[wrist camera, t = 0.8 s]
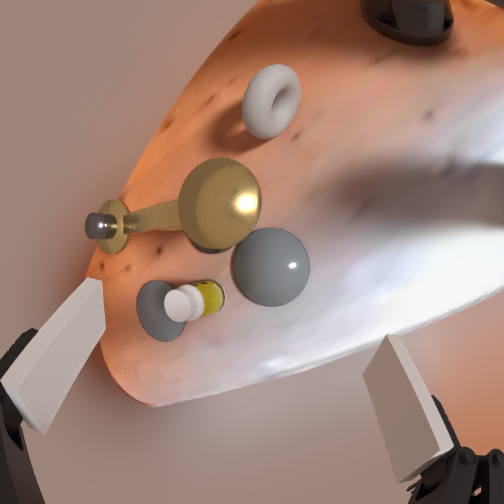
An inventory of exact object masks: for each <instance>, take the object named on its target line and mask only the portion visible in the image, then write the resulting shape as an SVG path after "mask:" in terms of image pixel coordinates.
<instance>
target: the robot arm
mask: <svg viewBox="0 0 504 504" xmlns="http://www.w3.org/2000/svg"><path fill="white" fill-rule="evenodd" d="M485 1H488V2H490V3H492V4H494V5H496V6H498V7H500V8H502V9H504V0H485ZM360 5H361V11H362V14H363V16H364V18H365V19H366V21H367V22H368V23H369V24H370V25H371V26H372V27H373V28H374V29H376V30H377V31H378V32H380V33H382V34H383V35H385V36H387V37H389V38H391V39H394V40H396V41H399V42H403V43H407V44H411V45H418V46H430V45H436V44H439V43H442V42H444V41H445V40H447V39H448V38H449V37H450V35H451V33H452V28H453V24H454V18H453V13H452V9H451V5H450V2H449V0H360ZM105 330H106V323H105V313H104V302H103V287H102V281H100V280H97V279H93V278H89V277H87V278H86V280H85V281H84V282H83V283H82V284H81V285H80V286H79V287H78V288H77V289H76V290H75V291H74V292H73V293H72V294H71V295H70V296H69V298H68V299H67V300H66V301H65V302H64V303H63V304H62V305H61V306H60V307H59V308H58V310H57V311H56V312H55V313H54V314H53V315H52V316H51V318H50V319H49V320H48V321H47V322H46V323H45V324H44V326H43V327H42V328H41V329H40V330H39V331H38V330H36V329H34V328H31V329H29V330H28V331H26V332H25V333H22V334H21V336H20V337H19V338H18V339H17V340H16V341H15V344H13V345H12V346H11V347H10V349H9V351H7V352H6V353H5V355H4V356H3V357H2V358H1V360H0V504H45V502H44V499H43V496H42V494H41V491H40V489H39V486H38V483H37V480H36V477H35V474H34V471H33V468H32V465H31V462H30V458H29V454H28V451H27V447H26V443H25V440H24V435H23V431H22V428H21V425H20V424H21V422H22V420H23V419H24V421H25V422H26V424H27V425H28V427H30V428H31V429H33V430H35V431H37V432H39V433H40V434H42V435H44V436H45V434H46V432H47V430H48V428H49V426H50V424H51V422H52V420H53V418H54V417H55V415H56V413H57V411H58V409H59V407H60V405H61V403H62V401H63V400H64V398H65V396H66V394H67V393H68V391H69V389H70V387H71V386H72V384H73V382H74V380H75V379H76V377H77V375H78V373H79V372H80V370H81V368H82V367H83V365H84V363H85V362H86V360H87V358H88V357H89V355H90V354H91V352H92V350H93V349H94V347H95V345H96V344H97V342H98V341H99V339H100V338H101V336H102V334H103V333H104V331H105ZM363 377H364V379H365V382H366V385H367V388H368V391H369V394H370V396H371V400H372V403H373V406H374V408H375V412H376V415H377V418H378V421H379V424H380V427H381V430H382V433H383V436H384V440H385V443H386V446H387V450H388V453H389V457H390V460H391V464H392V467H393V471H394V474H395V478H396V482H397V483H402V482H406V481H410V480H412V479H414V478H415V477H416V476H418V475H419V474H421V477H422V478H421V479H420V480H418V481H417V482H416V483H414V484H413V485H411V486H410V487H408V489H407V490H406V491H410V490H411V489H413V488H414V487H415V489H414V490H413V491H412V492H411V493H412V496H411V498H410V500H409V503H408V504H504V454H503V452H502V451H500V450H499V449H493V450H491V451H490V452H489V453H488V454H487V455H485V456H482V455H476V454H475V453H474V452H473V450H471V449H470V448H468V447H461V446H460V443H459V441H458V439H457V436H456V434H455V432H454V430H453V428H452V425H451V423H450V421H448V417H447V415H446V414H445V411H444V409H443V407H442V405H441V403H440V402H439V401H438V400H437V398H436V397H434V395H430V393H429V391H428V389H427V387H426V385H425V383H424V381H423V379H422V377H421V375H420V374H419V372H418V370H417V368H416V366H415V364H414V362H413V360H412V359H411V357H410V355H409V353H408V351H407V350H406V348H405V346H404V344H403V342H402V341H401V339H400V337H399V336H398V335H388V334H386V336H385V338H384V339H383V341H382V343H381V345H380V347H379V348H378V350H377V352H376V354H375V355H374V357H373V358H372V360H371V362H370V363H369V365H368V366H367V368H366V370H365V371H364V373H363ZM480 487H481V493H479V494H478V495H476V496H475V494H474V491H476V490H477V489H479V488H480Z"/></svg>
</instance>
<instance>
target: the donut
mask: <svg viewBox="0 0 504 504" xmlns="http://www.w3.org/2000/svg"><path fill="white" fill-rule="evenodd" d="M300 95H301V87H300V82H299V79H298V76H297V74H296V73H295V72H294V71H293V70H292V69H291V68H290V67H288V66H285V65H281V64H274V65H270V66H266V67H264V68H263V69H262V70H260V71H259V72H258V73H257V74H255V76H254V77H253V78H252V80H251V81H250V82H249V84H248V87H247V89H246V91H245V93H244V98H243V102H242V117H243V121H244V125H245V127H246V128H247V129H248V131H249V132H250V133H251V134H252V135H253V136H255V137H257V138H260V139H270V138H274V137H276V136H278V135H280V134H281V133H283V132H284V130H285V129H286V128H287V127H288V126H289V124H290V123H291V121H292V120H293V118H294V116H295V114H296V112H297V109H298V106H299V102H300Z"/></svg>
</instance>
